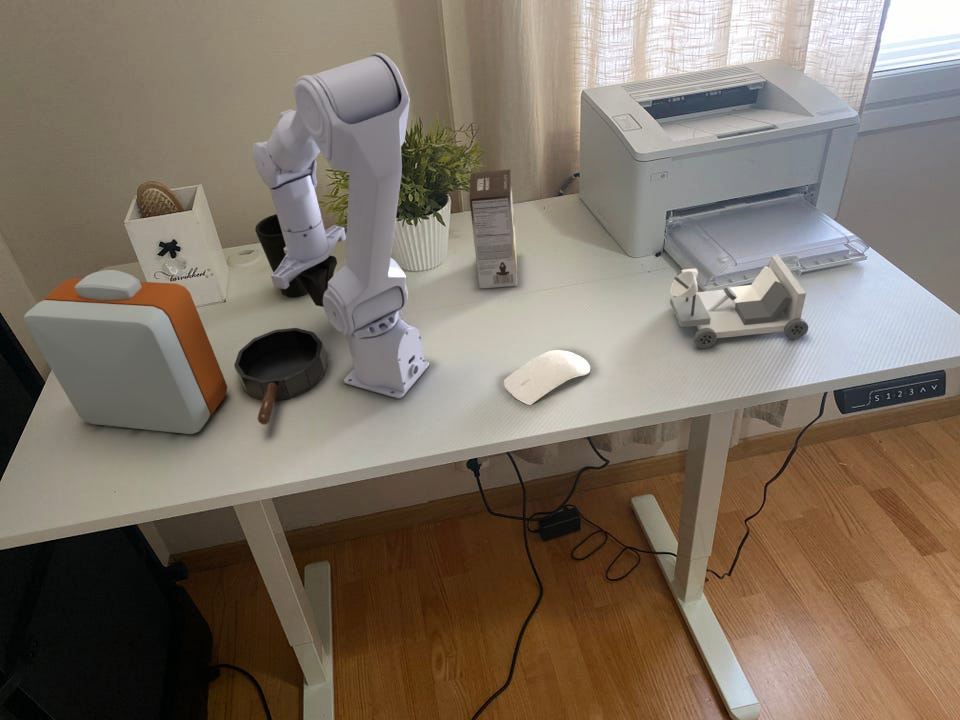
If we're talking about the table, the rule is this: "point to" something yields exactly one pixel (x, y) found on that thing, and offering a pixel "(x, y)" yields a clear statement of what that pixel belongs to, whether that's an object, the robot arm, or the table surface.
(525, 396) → the computer mouse
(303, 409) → the table surface
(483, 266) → the coffee box
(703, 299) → the toy cart
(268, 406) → the pan
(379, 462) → the table surface
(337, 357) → the table surface
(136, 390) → the alarm clock
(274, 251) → the cup
